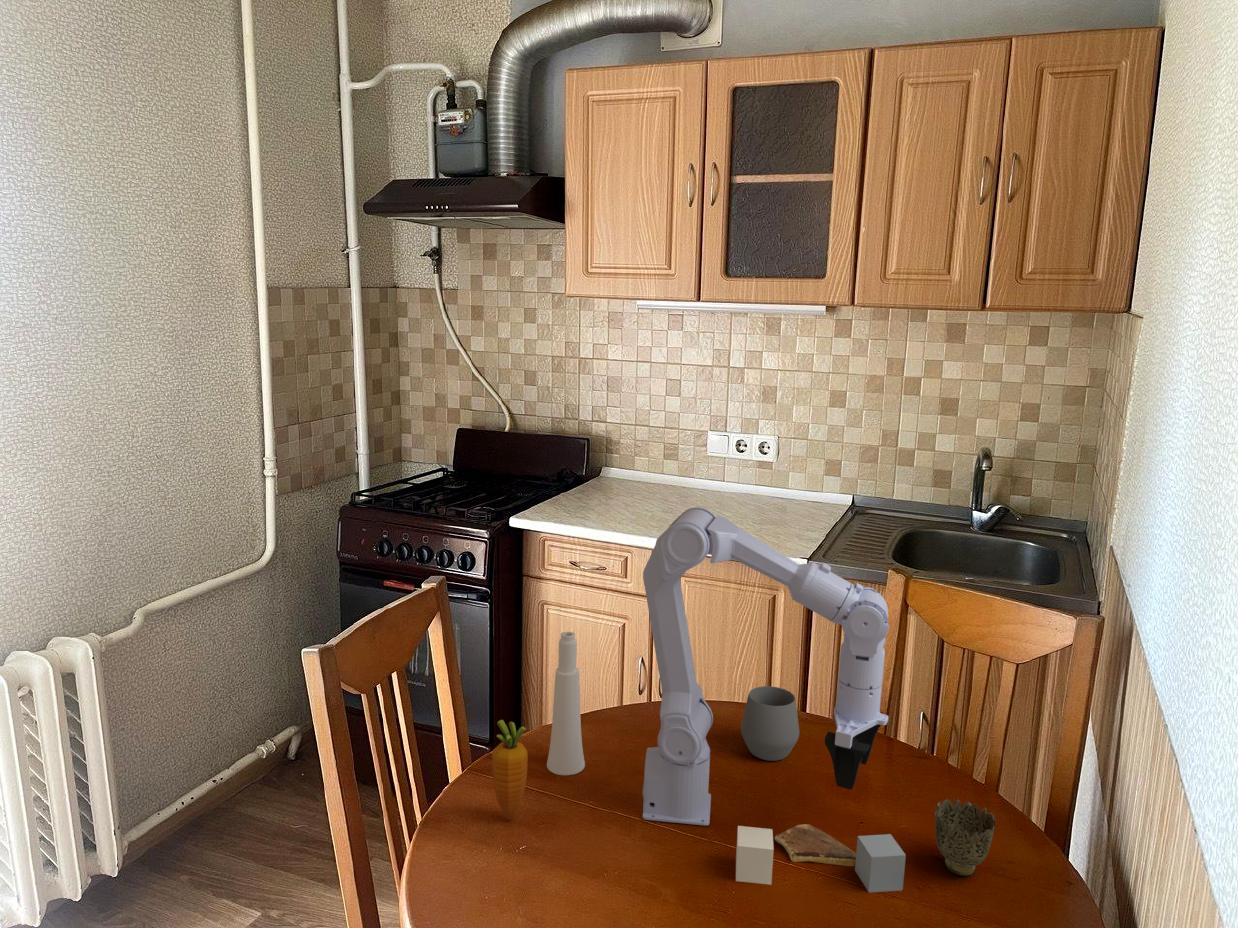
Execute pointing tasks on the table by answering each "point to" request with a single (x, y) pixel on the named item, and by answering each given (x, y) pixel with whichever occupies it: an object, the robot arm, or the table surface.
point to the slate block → (880, 863)
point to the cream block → (754, 855)
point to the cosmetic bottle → (566, 713)
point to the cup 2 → (963, 835)
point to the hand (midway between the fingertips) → (852, 773)
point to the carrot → (509, 769)
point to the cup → (770, 723)
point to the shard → (815, 846)
